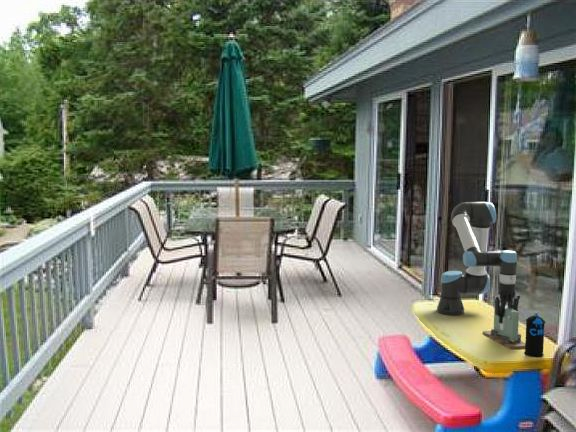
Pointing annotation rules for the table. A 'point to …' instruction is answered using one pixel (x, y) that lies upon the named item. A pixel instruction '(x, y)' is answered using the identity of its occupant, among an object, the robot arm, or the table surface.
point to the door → (508, 324)
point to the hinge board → (505, 340)
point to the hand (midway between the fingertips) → (505, 329)
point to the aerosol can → (534, 336)
